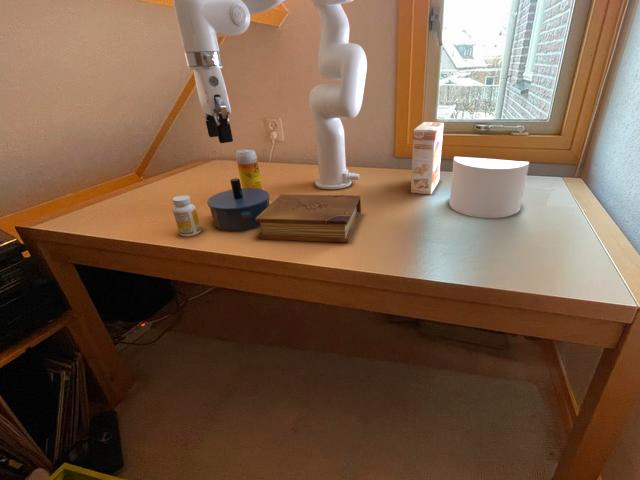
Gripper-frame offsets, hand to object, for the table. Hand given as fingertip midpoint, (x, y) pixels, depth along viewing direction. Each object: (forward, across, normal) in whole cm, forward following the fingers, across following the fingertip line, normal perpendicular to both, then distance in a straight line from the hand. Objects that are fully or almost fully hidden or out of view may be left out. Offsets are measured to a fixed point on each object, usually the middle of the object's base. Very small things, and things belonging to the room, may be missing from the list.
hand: (220, 139), depth 93 cm
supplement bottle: (+22, -1, +13) cm, 26 cm away
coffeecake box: (+22, -12, -61) cm, 65 cm away
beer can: (+22, +15, -10) cm, 28 cm away
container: (+22, -35, -63) cm, 75 cm away
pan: (+22, -1, -1) cm, 22 cm away
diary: (+22, -17, -15) cm, 32 cm away
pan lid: (+16, -1, -1) cm, 16 cm away
